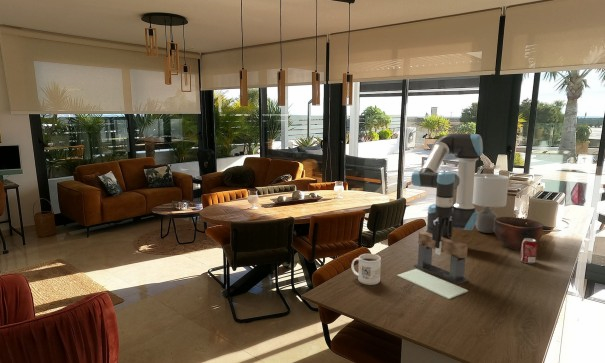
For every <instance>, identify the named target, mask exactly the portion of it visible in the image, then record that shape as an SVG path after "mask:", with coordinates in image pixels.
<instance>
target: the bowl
mask: <svg viewBox="0 0 605 363" xmlns="http://www.w3.org/2000/svg"><path fill="white" fill-rule="evenodd" d="M494 223H495V225H494V229H493V231H494V232H493V233H494V234H495V236H496V237H497V238H498V239H499V240H500V241H501V242H502V244H503V245H504V246H505V247H506V248H510V249H512V250H520V251H521V248H522V241H523V240H524V238H532V239H535V240H536V243H538V242H539V241H540V239H541V238H542V236H543V233H542V232H543V228H544V227H545V225H544V224H543V223H542V222H539V221H537V220H532V219H529V218H522V217H515V216H497V217H496V218H494Z"/></svg>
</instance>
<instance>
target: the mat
mask: <svg viewBox="0 0 605 363" xmlns="http://www.w3.org/2000/svg"><path fill="white" fill-rule="evenodd" d="M396 276H397V277H399V278H401V279H403V280H405V281H407V282H410V283H412V284H414V285H416V286H419V287H421V288H423V289H425V290H427V291H429V292H432V293H433V294H436V295H438V296H441V297H442V298H444V299H447V300H451V299H453V298H456V297H458V296H460V295H463V294H465V293H467V292H469V290H468V289H466V288H463V287H461V286H460V285H459V286H458V285H456V284H455V283H453V282H452V283H451V282H450V281H448V280H444V279H443V278H442V279H441V278H440V277H438V276H436V275H433V274H432V275H431V273H430V274H429V273H428V272H426V271H425V272H424V271H423V270H421V269H419V268H414V269H411V270H408V271H405V272H402V273H399V274H397V275H396Z"/></svg>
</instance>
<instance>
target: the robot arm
mask: <svg viewBox="0 0 605 363" xmlns="http://www.w3.org/2000/svg"><path fill="white" fill-rule="evenodd" d="M483 144H484V143H483V139H482V136H481V135H480V134H477V133H454V132H453V133H447V134H444V135H443V136H441V137H439V138H438V139H436V140H435V141H434V143H433V144H432V146H431V148H430V149H431V151H430V153H429V155H428V157H427V158H426V161H425V162H424V163H423V165H422V166H421V168H420V170H415V171H413V172H412V173H411V177H410V178H411V179H410V180H411V184H412V186H415V187H419V188H420V187H421V188H432V189H433V188H435V189H436V192H435V193H436V194H435V203H433V204H430V205H429V206H428V209H427V210H428V211H427V222H426V230H425V232H428V233H431V234H432V240H434V241H435V249H434V250H435V251H434V254H435V255H438V256H441V255H442V252H441V247H442V242H441V237H444V238H447V239H450V240H452V236H453V229H459V230H464V231H472V230H474V228H475V227H476V225H475V223H476V220H477V216H478V213H479V211H478V210H477V209H476V205H475V204H472V202H473V189H474V176H475V174H476V163H477V161H478V160H479V159H480V157H481V156H483V153H484V152H483V151H484V145H483ZM448 155H456V156H455V158H456V160H458V168H457V170H458V171H457V173H456V172H450V171H441V172H440V171H439V172H438V170H439V168H440V166H441V164H442V163H443V160H444V158H445V157H447V156H448ZM455 189H456V197H455V199H456V201H455V203H454V193H455ZM453 203H454V204H453Z"/></svg>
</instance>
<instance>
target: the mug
mask: <svg viewBox="0 0 605 363" xmlns="http://www.w3.org/2000/svg"><path fill="white" fill-rule="evenodd" d="M356 261H358V272H357V271H356V270H355V267H354V266H355V265H354V264H355V262H356ZM381 262H382V258H381V256H379V255H378V254H374V253H363V254H360V255H359V256H358V257H356V258H354V259H353V260H352V262H351V265H350V266H351V271H352V273H353V274H354V275H356V277H358V278H357V279H358V282H360V283H361V284H363V285H370V286H371V285H373V286H374V285H377V284H379V283H380V282H381V267H382V266H381V264H382V263H381Z"/></svg>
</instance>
